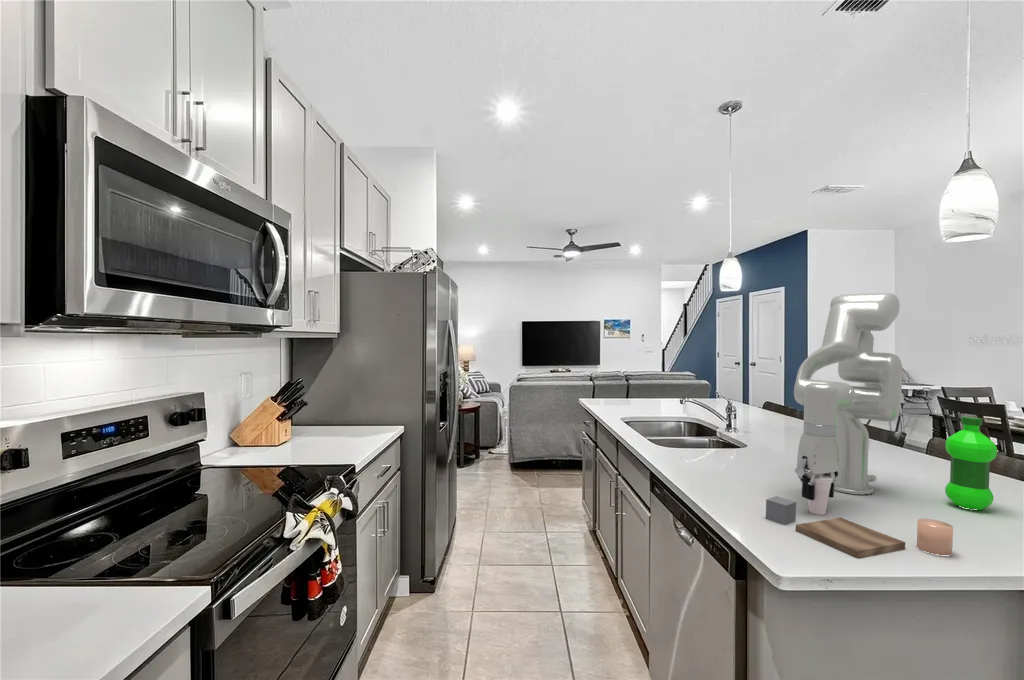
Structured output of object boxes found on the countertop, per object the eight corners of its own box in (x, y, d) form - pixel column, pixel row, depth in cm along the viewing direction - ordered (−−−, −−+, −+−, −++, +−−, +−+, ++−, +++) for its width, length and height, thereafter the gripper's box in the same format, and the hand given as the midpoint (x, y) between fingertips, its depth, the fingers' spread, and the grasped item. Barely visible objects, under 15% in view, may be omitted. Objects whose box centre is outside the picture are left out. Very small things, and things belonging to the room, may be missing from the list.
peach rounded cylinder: (927, 543, 113) (928, 517, 113) (958, 554, 108) (959, 527, 108) (910, 546, 111) (911, 520, 111) (940, 558, 106) (941, 530, 106)
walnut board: (840, 523, 124) (840, 517, 124) (905, 548, 110) (905, 542, 110) (795, 530, 119) (795, 524, 119) (857, 558, 105) (857, 551, 105)
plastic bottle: (944, 498, 145) (948, 413, 144) (995, 508, 137) (998, 418, 137) (941, 506, 138) (944, 417, 137) (994, 517, 130) (997, 422, 130)
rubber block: (775, 514, 130) (776, 496, 129) (795, 521, 125) (796, 501, 125) (765, 518, 127) (766, 499, 127) (785, 525, 123) (786, 505, 122)
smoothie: (822, 518, 127) (824, 464, 127) (797, 509, 133) (799, 458, 133) (836, 514, 130) (838, 461, 130) (812, 506, 136) (814, 455, 136)
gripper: (830, 425, 138) (827, 490, 138) (783, 429, 132) (781, 496, 132) (856, 431, 131) (854, 498, 131) (808, 434, 125) (806, 505, 125)
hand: (817, 496), depth 132 cm, fingers closed on smoothie, 6 cm apart
